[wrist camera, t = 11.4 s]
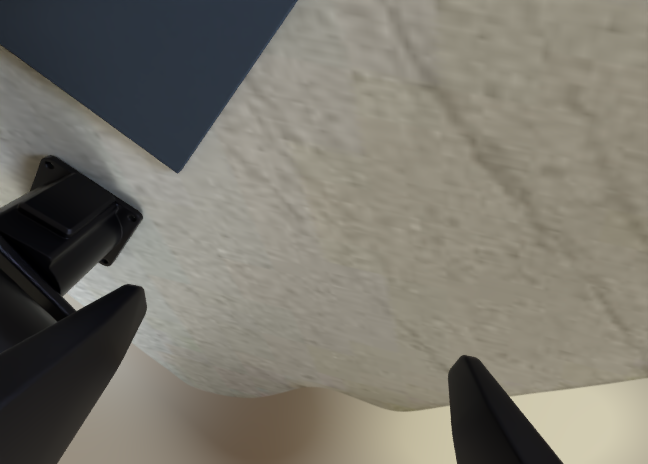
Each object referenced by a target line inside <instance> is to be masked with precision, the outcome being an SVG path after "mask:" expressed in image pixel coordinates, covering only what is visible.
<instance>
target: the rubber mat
mask: <svg viewBox="0 0 648 464" xmlns="http://www.w3.org/2000/svg"><path fill="white" fill-rule="evenodd" d="M297 1H298V0H0V44H1V45H2V46H3V47H5V48H6V49H7V50H9V51H10V52H11V53H13V54H14V55H16V56H17V57H18V58H20V59H21V60H22V61H24V62H25V63H27V64H28V65H29V66H31V67H32V68H33V69H35V70H36V71H38V72H39V73H40V74H42V75H43V76H44V77H46V78H47V79H49V80H50V81H51V82H53V83H54V84H55V85H57V86H58V87H60V88H61V89H62V90H64V91H65V92H66V93H68V94H69V95H70V96H72V97H73V98H75V99H76V100H77V101H79V102H80V103H81V104H83V105H84V106H86V107H87V108H88V109H90V110H91V111H92V112H94V113H95V114H97V115H98V116H99V117H101V118H102V119H103V120H105V121H106V122H108V123H109V124H110V125H112V126H113V127H114V128H116V129H117V130H118V131H120V132H121V133H123V134H124V135H125V136H127V137H128V138H129V139H131V140H132V141H134V142H135V143H136V144H138V145H139V146H140V147H142V148H143V149H145V150H146V151H147V152H149V153H150V154H151V155H153V156H154V157H156V158H157V159H158V160H160V161H161V162H162V163H164V164H165V165H166V166H168V167H169V168H171V169H172V170H173V171H175V172H176V173H179V172H180V171H181V170H182V169H183V167H184V166H185V164H186V163H187V161H188V160H189V158H190V157H191V156H192V154H193V153H194V151H195V150H196V148H197V147H198V145H199V144H200V142H201V141H202V139H203V138H204V137H205V135H206V134H207V132H208V131H209V129H210V128H211V126H212V125H213V123H214V122H215V120H216V119H217V118H218V116H219V115H220V113H221V112H222V110H223V109H224V107H225V106H226V104H227V103H228V102H229V100H230V99H231V97H232V96H233V94H234V93H235V91H236V90H237V88H238V87H239V85H240V84H241V83H242V81H243V80H244V78H245V77H246V75H247V74H248V72H249V71H250V69H251V68H252V66H253V65H254V64H255V62H256V61H257V59H258V58H259V56H260V55H261V53H262V52H263V50H264V49H265V47H266V46H267V45H268V43H269V42H270V40H271V39H272V37H273V36H274V34H275V33H276V31H277V30H278V29H279V27H280V26H281V24H282V23H283V21H284V20H285V18H286V17H287V15H288V14H289V12H290V11H291V10H292V8H293V7H294V5H295V4H296V2H297Z"/></svg>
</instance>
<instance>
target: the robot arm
mask: <svg viewBox="0 0 648 464" xmlns="http://www.w3.org/2000/svg"><path fill="white" fill-rule="evenodd" d="M51 163H52V164H53V165H52V164H51ZM133 216H134V217H135V218H134V217H133ZM142 219H143V216H142V214H141V213H140V212H139V211H138V210H136V209H135V208H133V207H132V206H130V205H129V204H127V203H126V202H124V201H122V200H121V199H119V198H118V197H116V196H115V195H113V194H112V193H110V192H109V191H107V190H106V189H104V188H103V187H101V186H100V185H98V184H97V183H95V182H93V181H92V180H90V179H89V178H87V177H86V176H84V175H83V174H81V173H80V172H78V171H77V170H75V169H74V168H72V167H71V166H69V165H67V164H66V163H64V162H63V161H61V160H60V159H58V158H57V157H55V156H51V155H50V156H47V157H45V158H43V159H42V160H41V162H40V165H39V168H38V171H37V173H36V176H35V179H34V182H33V184H32V187H31V190H30V192H29V193H27V194H25V195H23V196H21V197H20V198H18V199H16V200H14V201H12V202H10V203H9V204H7V205H5V206H3V207H1V208H0V464H57V463H58V461H59V460H60V458H61V457H62V455H63V454H64V452H65V451H66V449H67V447H68V446H69V444H70V443H71V441H72V440H73V438H74V437H75V435H76V433H77V432H78V430H79V429H80V427H81V426H82V424H83V422H84V421H85V419H86V418H87V416H88V415H89V413H90V412H91V410H92V408H93V407H94V405H95V404H96V402H97V400H98V399H99V397H100V396H101V394H102V393H103V391H104V390H105V388H106V387H107V385H108V383H109V382H110V380H111V378H112V377H113V376H114V374H115V372H116V371H117V369H118V367H119V365H120V364H121V361H122V360H123V358H124V356H125V354H126V352H127V350H128V348H129V346H130V344H131V342H132V340H133V338H134V336H135V334H136V332H137V330H138V328H139V326H140V324H141V322H142V320H143V318H144V316H145V314H146V310H147V304H146V298H145V292H144V289H143V288H142V287H141V286H136V285H132V284H126V285H123V286H121V287H120V288H118V289H116V290H114V291H112V292H111V293H109V294H107V295H105V296H103V297H101V298H100V299H98V300H96V301H94V302H92V303H91V304H89V305H87V306H85V307H83V308H82V309H80V310H78V311H76V310H75V309H74V308H73V307H72V306H71V305H70V304H69V303H68V302H67V301H66V300H65V299H64V298H63V296H64V295H65V294H66V293H67V292H68V291H69V290H70V289H71V288H72V287H73V286H74V285H75V284H76V283H77V282H78V281H79V280H80V279H81V278H83V277H84V276H85V275H86V274H87V273H88V272H89V271H90V270H91V269H92V268H93V267H94V266H95V265H96V264H97V263H98V262H99V263H100V264H102V265H104V266H110V265H111V264H112V263H113V262H114V261H115V260H116V258H117V257H118V255H119V254H120V252H121V251H122V249H123V248H124V246H125V245H126V243H127V242H128V240H129V239H130V237H131V236H132V234H133V233H134V231H135V230H136V228H137V227H138V225H139V224H140V223H141V221H142ZM448 384H449V398H450V412H451V426H452V435H453V442H454V448H455V453H456V460H457V464H563V462H562V461H561V460H560V459H559V458H558V456H557V455H556V454H555V453H554V451H553V450H552V449H551V448H550V446H549V445H548V444H547V443H546V442H545V440H544V439H543V438H542V437H541V436H540V434H539V433H538V432H537V430H536V429H535V428H534V427H533V425H532V424H531V423H530V422H529V421H528V419H527V418H526V417H525V416H524V414H523V413H522V412H521V411H520V409H519V408H518V407H517V406H516V404H515V403H514V402H513V401H512V399H511V398H510V397H509V396H508V395H507V393H506V392H505V391H504V390H503V388H502V387H501V386H500V385H499V383H498V382H497V381H496V380H495V378H494V377H493V376H492V375H491V374H490V372H489V371H488V370H487V369H486V367H485V366H484V365H483V364H482V362H481V361H480V360H479V359H478V358H476V357H472V356H467V355H462V356H461V357H460V358H459V359H458V360H457V361H456V363H455V364H454V365H453V366H452V368H451V369H450V371H449V374H448Z"/></svg>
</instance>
